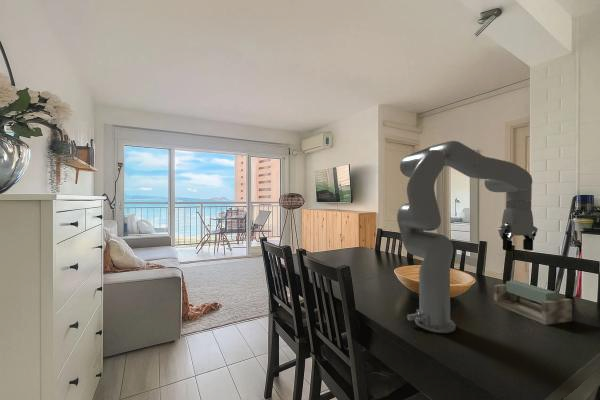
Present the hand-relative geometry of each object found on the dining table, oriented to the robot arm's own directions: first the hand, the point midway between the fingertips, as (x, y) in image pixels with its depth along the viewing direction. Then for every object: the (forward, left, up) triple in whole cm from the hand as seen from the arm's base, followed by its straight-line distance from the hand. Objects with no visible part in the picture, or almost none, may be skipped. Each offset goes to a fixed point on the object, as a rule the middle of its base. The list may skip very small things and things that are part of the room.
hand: (517, 250), depth 101 cm
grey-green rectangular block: (+3, -2, -18) cm, 18 cm away
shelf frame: (+3, -2, -23) cm, 24 cm away
